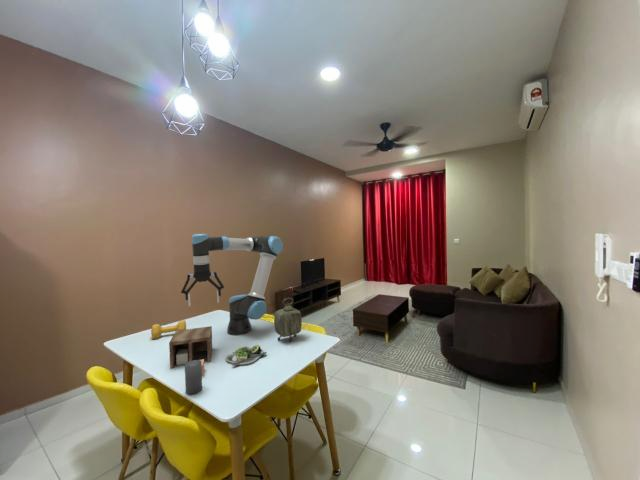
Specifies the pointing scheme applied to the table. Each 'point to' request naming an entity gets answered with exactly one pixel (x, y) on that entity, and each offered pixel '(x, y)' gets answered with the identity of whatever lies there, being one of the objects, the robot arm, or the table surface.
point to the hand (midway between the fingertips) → (204, 304)
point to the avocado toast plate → (245, 355)
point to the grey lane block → (182, 356)
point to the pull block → (194, 376)
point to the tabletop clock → (287, 321)
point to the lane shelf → (191, 342)
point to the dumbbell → (166, 329)
